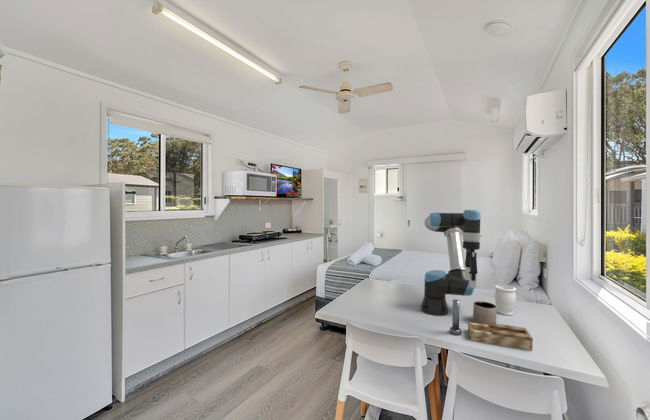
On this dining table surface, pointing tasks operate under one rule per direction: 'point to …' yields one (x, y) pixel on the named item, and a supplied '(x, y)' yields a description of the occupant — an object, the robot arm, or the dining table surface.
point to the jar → (505, 299)
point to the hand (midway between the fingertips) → (470, 283)
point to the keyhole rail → (499, 340)
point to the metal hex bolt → (455, 319)
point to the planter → (484, 312)
